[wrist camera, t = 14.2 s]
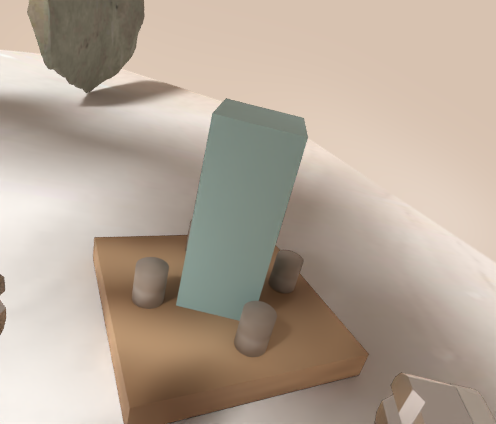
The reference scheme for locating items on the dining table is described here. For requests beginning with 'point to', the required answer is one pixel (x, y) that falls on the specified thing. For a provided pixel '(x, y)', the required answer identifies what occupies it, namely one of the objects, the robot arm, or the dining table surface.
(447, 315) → the dining table surface
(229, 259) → the block
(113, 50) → the rock
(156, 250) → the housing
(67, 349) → the dining table surface
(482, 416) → the robot arm
